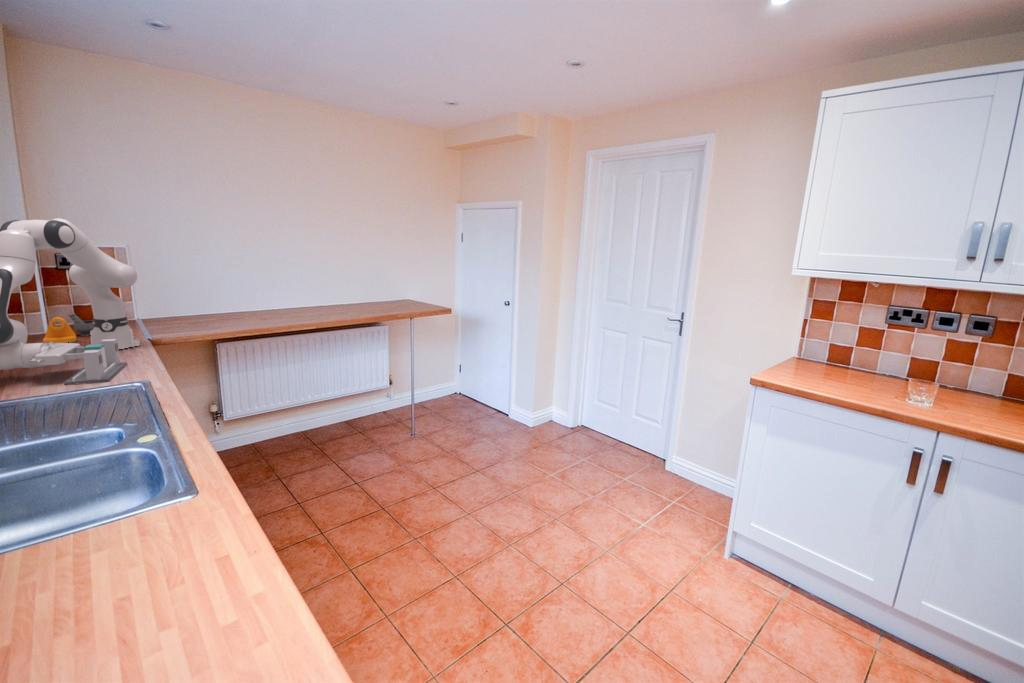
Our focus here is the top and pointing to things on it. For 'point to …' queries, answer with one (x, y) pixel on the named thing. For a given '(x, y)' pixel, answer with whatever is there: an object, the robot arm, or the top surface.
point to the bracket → (59, 332)
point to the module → (98, 347)
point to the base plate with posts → (99, 364)
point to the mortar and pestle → (82, 325)
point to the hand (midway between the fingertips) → (88, 352)
